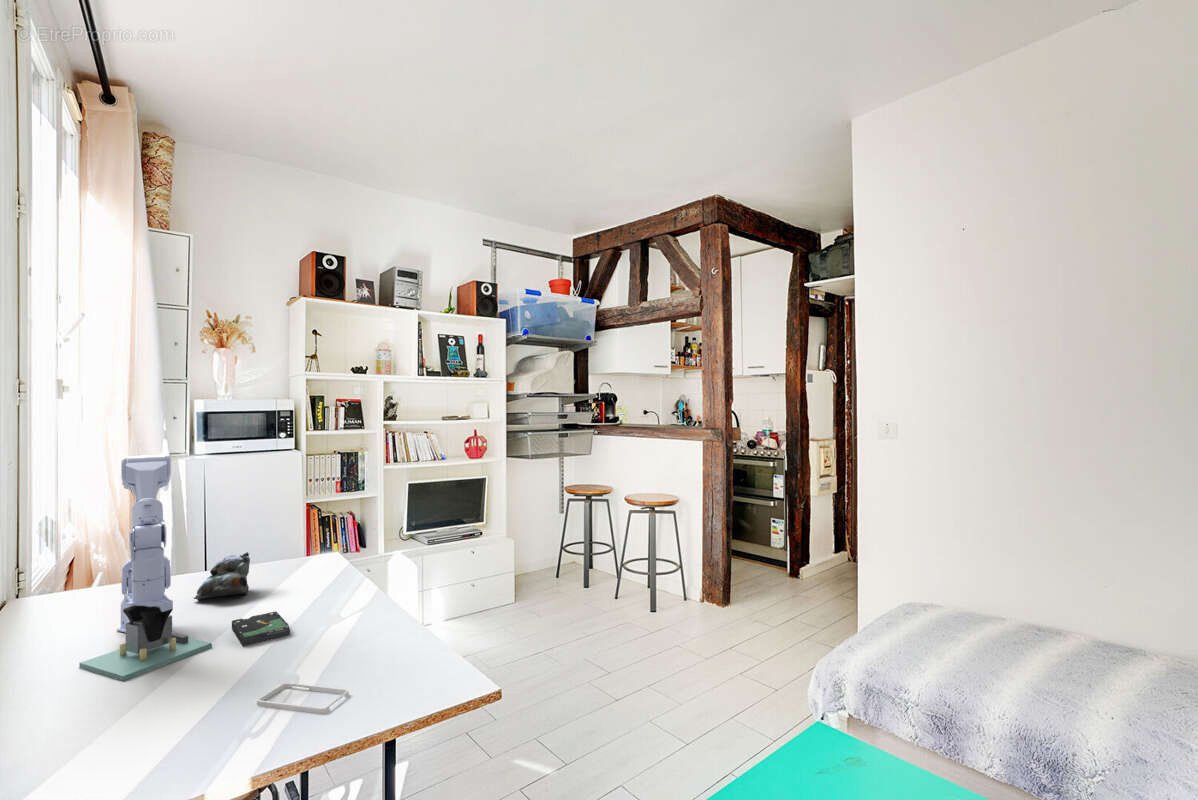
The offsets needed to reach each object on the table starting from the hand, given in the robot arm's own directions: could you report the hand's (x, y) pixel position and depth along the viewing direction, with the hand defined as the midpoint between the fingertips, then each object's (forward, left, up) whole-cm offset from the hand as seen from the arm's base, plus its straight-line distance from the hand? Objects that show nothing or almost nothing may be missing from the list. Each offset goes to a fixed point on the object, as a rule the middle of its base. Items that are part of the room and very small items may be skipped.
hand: (148, 638), depth 130 cm
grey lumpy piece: (-26, +34, -4) cm, 43 cm away
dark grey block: (0, 0, -2) cm, 2 cm away
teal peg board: (0, 0, -4) cm, 4 cm away
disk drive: (+10, +20, -5) cm, 23 cm away
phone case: (+49, 0, -5) cm, 49 cm away
